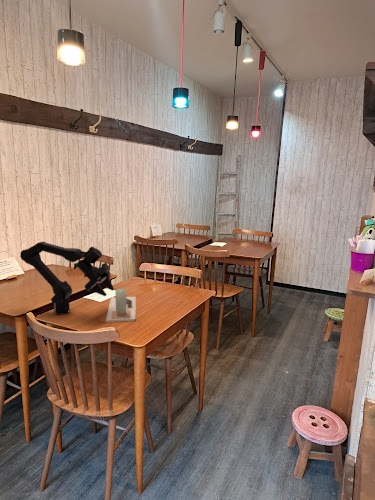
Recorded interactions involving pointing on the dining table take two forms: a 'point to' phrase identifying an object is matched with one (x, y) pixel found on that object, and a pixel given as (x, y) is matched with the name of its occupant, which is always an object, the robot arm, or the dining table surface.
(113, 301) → the base board
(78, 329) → the dining table surface
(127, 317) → the mat
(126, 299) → the brown arch piece
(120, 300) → the grey upright cylinder
